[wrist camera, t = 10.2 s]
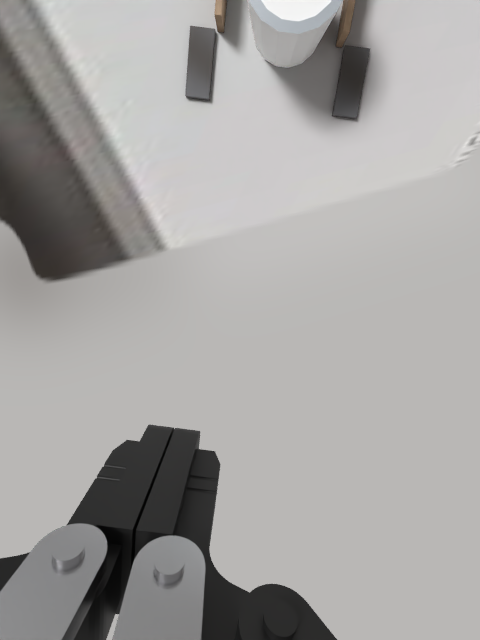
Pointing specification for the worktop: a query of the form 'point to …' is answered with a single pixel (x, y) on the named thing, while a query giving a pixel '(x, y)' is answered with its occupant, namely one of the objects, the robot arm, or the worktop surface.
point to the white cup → (290, 28)
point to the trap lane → (352, 56)
